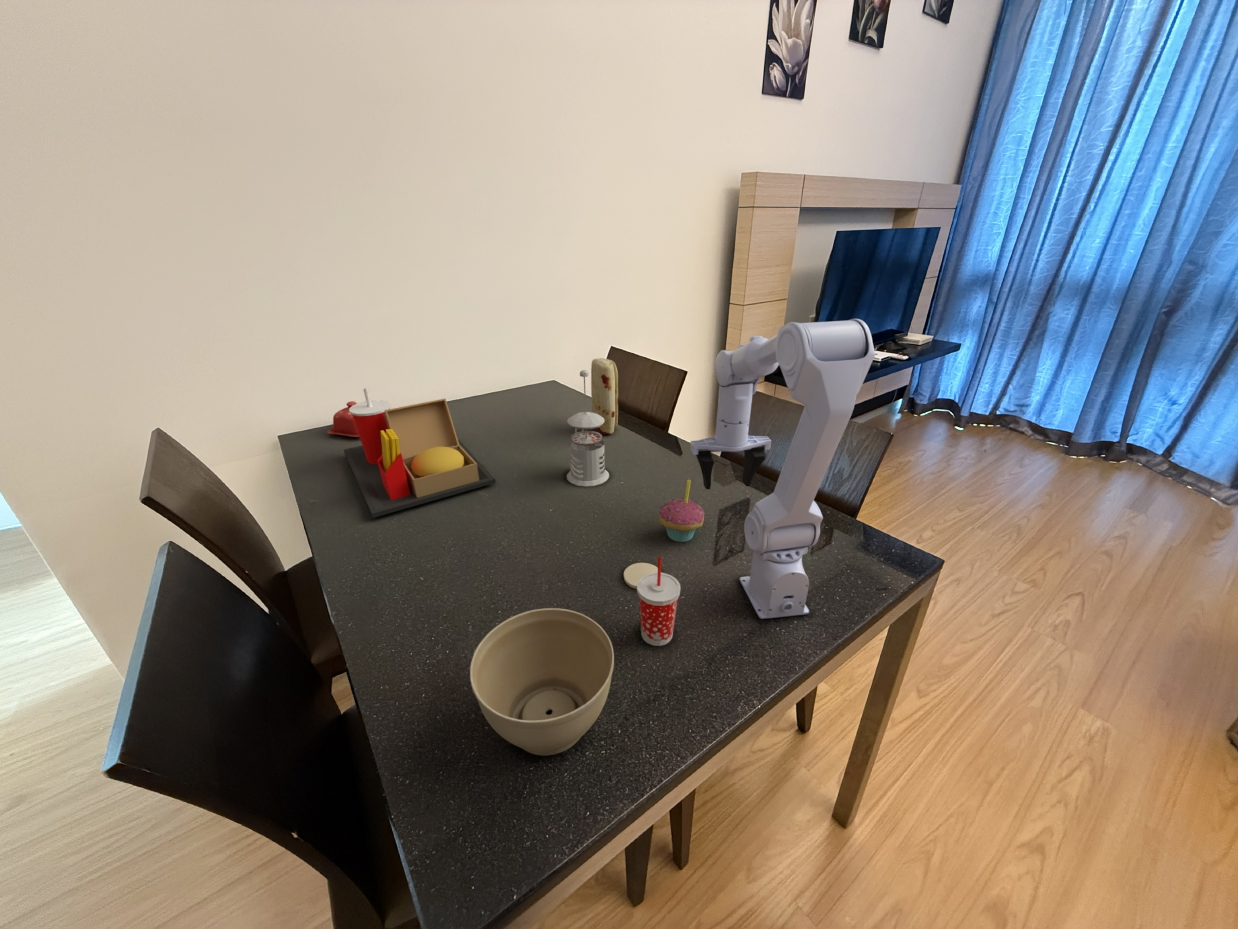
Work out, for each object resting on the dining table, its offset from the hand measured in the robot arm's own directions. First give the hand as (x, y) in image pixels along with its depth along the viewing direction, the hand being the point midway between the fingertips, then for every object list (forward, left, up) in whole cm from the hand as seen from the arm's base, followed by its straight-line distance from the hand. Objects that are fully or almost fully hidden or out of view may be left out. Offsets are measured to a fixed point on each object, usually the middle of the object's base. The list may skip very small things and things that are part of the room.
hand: (726, 485), depth 99 cm
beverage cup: (-27, +19, -9) cm, 34 cm away
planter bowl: (-39, +35, -9) cm, 53 cm away
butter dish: (+58, +85, -9) cm, 103 cm away
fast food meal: (+32, +64, -9) cm, 72 cm away
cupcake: (-3, +9, -9) cm, 13 cm away
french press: (+24, +25, -9) cm, 36 cm away
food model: (+48, +18, -9) cm, 52 cm away
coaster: (-14, +18, -9) cm, 24 cm away
